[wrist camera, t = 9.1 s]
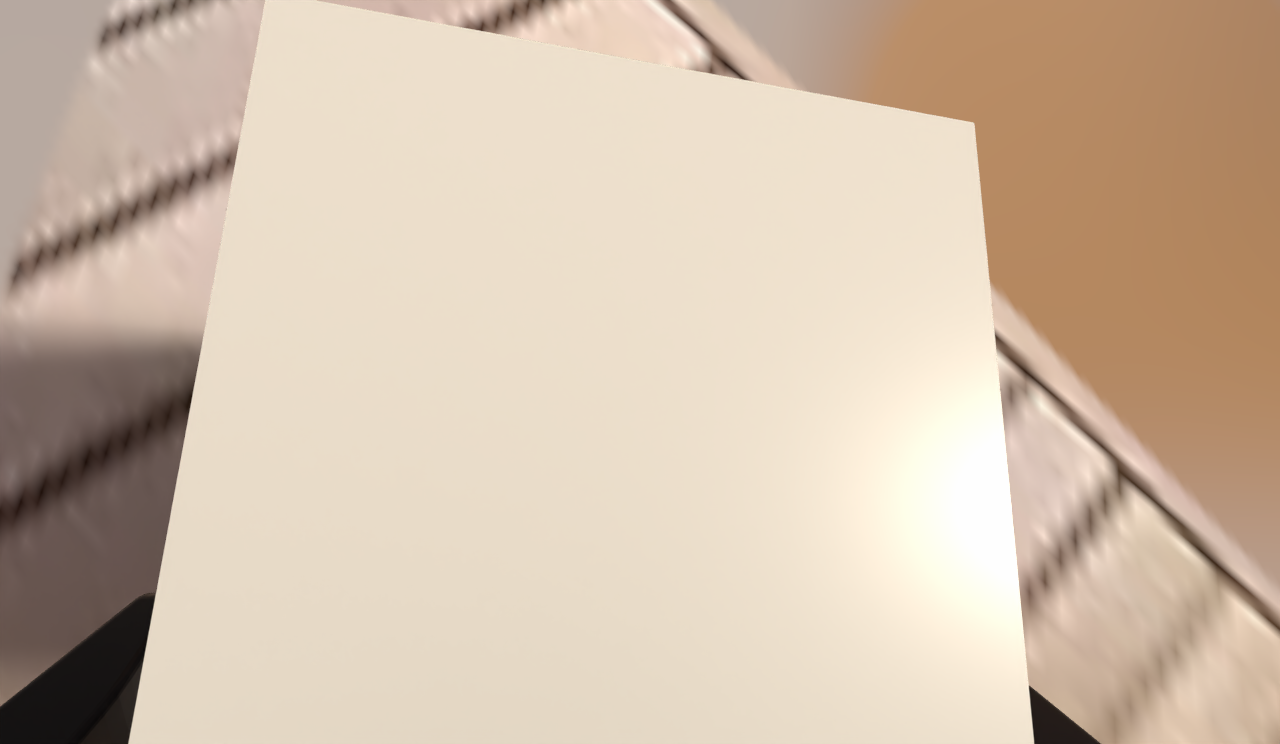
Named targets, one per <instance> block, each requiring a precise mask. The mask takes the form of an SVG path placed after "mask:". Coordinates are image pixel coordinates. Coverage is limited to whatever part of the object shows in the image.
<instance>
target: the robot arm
mask: <svg viewBox="0 0 1280 744" xmlns="http://www.w3.org/2000/svg"><path fill="white" fill-rule="evenodd" d="M155 596H156V593H147V594H144V595H142V596H140V597H138V598H137V599H135V600H134V601H133V602H132V603H130V604H129V605H128V606H127V607H125V608H124V609H123V610H121V611H120V612H119V613H118V614H116V615H115V616H114V617H113V618H111V619H110V620H109V621H108V622H106V623H105V624H104V625H103V626H101V627H100V628H99V629H98V630H96V631H95V632H94V633H92V634H91V635H90V636H89V637H87V638H86V639H85V640H84V641H82V642H81V643H80V644H79V645H77V646H76V647H75V648H74V649H72V650H71V651H70V652H69V653H67V654H66V655H65V656H63V657H62V658H61V659H60V660H58V661H57V662H56V663H55V664H53V665H52V666H51V667H50V668H48V669H47V670H46V671H45V672H43V673H42V674H41V675H40V676H38V677H37V678H36V679H35V680H33V681H32V682H31V683H29V684H28V685H27V686H26V687H24V688H23V689H22V690H21V691H19V692H18V693H17V694H16V695H14V696H13V697H12V698H11V699H9V700H8V701H7V702H6V703H4V704H3V705H2V706H0V744H128V743H129V737H130V732H131V727H132V721H133V716H134V710H135V705H136V700H137V694H138V689H139V683H140V678H141V672H142V667H143V662H144V656H145V651H146V645H147V640H148V634H149V629H150V624H151V618H152V613H153V607H154V602H155ZM1029 695H1030V705H1031V716H1032V726H1033V736H1034V744H1101V743H1099V742H1098V741H1097V740H1096V739H1094V738H1093V737H1092V736H1091V735H1090V734H1088V733H1087V732H1086V731H1085V730H1083V729H1082V728H1081V727H1080V726H1078V725H1077V724H1076V723H1075V722H1074V721H1072V720H1071V719H1070V718H1069V717H1067V716H1066V715H1065V714H1064V713H1062V712H1061V711H1060V710H1059V709H1058V708H1056V707H1055V706H1054V705H1053V704H1051V703H1050V702H1049V701H1048V700H1046V699H1045V698H1044V697H1043V696H1042V695H1040V694H1039V693H1038V692H1037V691H1035V690H1034V689H1033V688H1032V687H1030V686H1029Z"/></svg>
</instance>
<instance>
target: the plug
mask: <svg viewBox="0 0 1280 744" xmlns="http://www.w3.org/2000/svg"><path fill="white" fill-rule="evenodd" d="M128 744H1034V736H1033V726H1032V716H1031V705H1030V695H1029V685H1028V674H1027V664H1026V654H1025V643H1024V633H1023V623H1022V612H1021V602H1020V592H1019V581H1018V571H1017V561H1016V550H1015V540H1014V530H1013V519H1012V509H1011V499H1010V488H1009V478H1008V468H1007V457H1006V447H1005V437H1004V426H1003V416H1002V406H1001V396H1000V385H999V375H998V365H997V354H996V344H995V334H994V323H993V313H992V303H991V292H990V282H989V272H988V261H987V251H986V241H985V231H984V220H983V210H982V199H981V189H980V179H979V168H978V158H977V148H976V137H975V127H974V123H972V122H967V121H961V120H956V119H951V118H945V117H940V116H935V115H929V114H924V113H918V112H913V111H908V110H902V109H897V108H892V107H886V106H880V105H876V104H870V103H865V102H859V101H854V100H849V99H843V98H838V97H833V96H827V95H822V94H816V93H811V92H806V91H800V90H795V89H790V88H784V87H779V86H773V85H768V84H763V83H757V82H752V81H747V80H741V79H736V78H730V77H725V76H720V75H714V74H709V73H704V72H698V71H693V70H687V69H682V68H677V67H671V66H666V65H661V64H655V63H650V62H644V61H639V60H634V59H628V58H623V57H618V56H612V55H607V54H601V53H596V52H591V51H585V50H580V49H574V48H569V47H564V46H558V45H553V44H548V43H542V42H537V41H531V40H526V39H521V38H515V37H510V36H505V35H499V34H494V33H488V32H483V31H478V30H472V29H467V28H462V27H456V26H451V25H445V24H440V23H435V22H429V21H424V20H419V19H413V18H408V17H402V16H397V15H392V14H386V13H381V12H376V11H370V10H365V9H359V8H354V7H349V6H343V5H338V4H333V3H327V2H322V1H316V0H265V5H264V11H263V16H262V21H261V27H260V32H259V38H258V43H257V49H256V54H255V59H254V65H253V70H252V76H251V81H250V87H249V92H248V97H247V103H246V108H245V114H244V119H243V125H242V130H241V135H240V141H239V146H238V152H237V157H236V163H235V168H234V173H233V179H232V184H231V190H230V195H229V200H228V206H227V211H226V217H225V222H224V228H223V233H222V238H221V244H220V249H219V255H218V260H217V266H216V271H215V276H214V282H213V287H212V293H211V298H210V304H209V309H208V314H207V320H206V325H205V331H204V336H203V342H202V347H201V352H200V358H199V363H198V369H197V374H196V379H195V385H194V390H193V396H192V401H191V407H190V412H189V417H188V423H187V428H186V434H185V439H184V445H183V450H182V455H181V461H180V466H179V472H178V477H177V483H176V488H175V493H174V499H173V504H172V510H171V515H170V521H169V526H168V531H167V537H166V542H165V548H164V553H163V558H162V564H161V569H160V575H159V580H158V586H157V591H156V596H155V602H154V607H153V613H152V618H151V624H150V629H149V634H148V640H147V645H146V651H145V656H144V662H143V667H142V672H141V678H140V683H139V689H138V694H137V700H136V705H135V710H134V716H133V721H132V727H131V732H130V737H129V743H128Z"/></svg>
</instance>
